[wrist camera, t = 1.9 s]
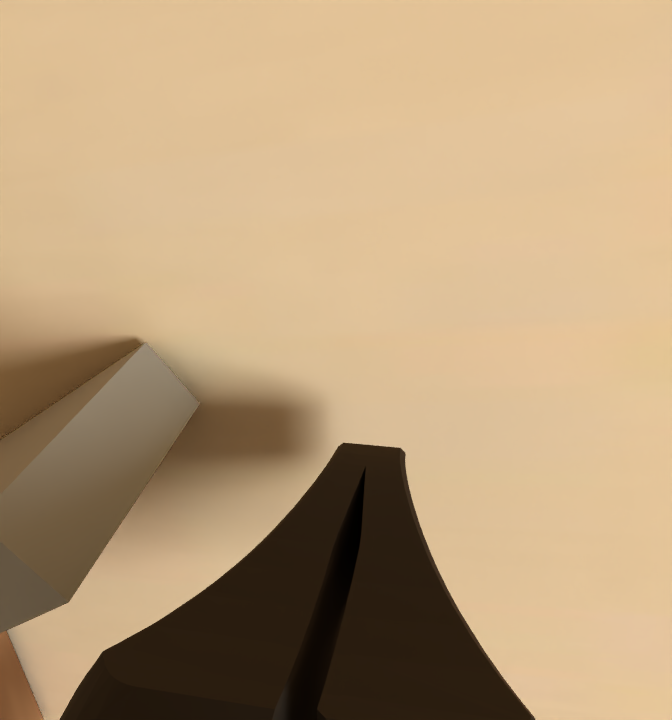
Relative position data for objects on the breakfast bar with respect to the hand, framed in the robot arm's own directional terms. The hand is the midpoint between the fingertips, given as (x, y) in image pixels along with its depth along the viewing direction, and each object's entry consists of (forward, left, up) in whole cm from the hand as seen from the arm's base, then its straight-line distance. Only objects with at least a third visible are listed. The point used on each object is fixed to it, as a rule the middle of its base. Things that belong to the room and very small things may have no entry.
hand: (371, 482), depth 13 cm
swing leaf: (-2, +10, -2) cm, 11 cm away
